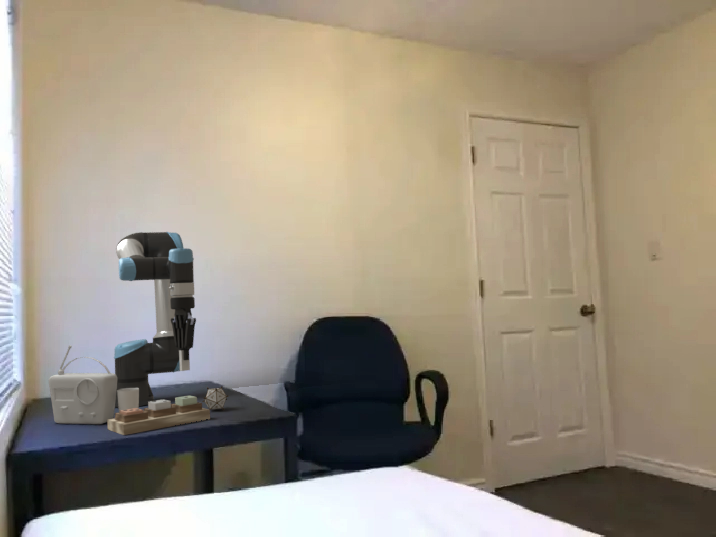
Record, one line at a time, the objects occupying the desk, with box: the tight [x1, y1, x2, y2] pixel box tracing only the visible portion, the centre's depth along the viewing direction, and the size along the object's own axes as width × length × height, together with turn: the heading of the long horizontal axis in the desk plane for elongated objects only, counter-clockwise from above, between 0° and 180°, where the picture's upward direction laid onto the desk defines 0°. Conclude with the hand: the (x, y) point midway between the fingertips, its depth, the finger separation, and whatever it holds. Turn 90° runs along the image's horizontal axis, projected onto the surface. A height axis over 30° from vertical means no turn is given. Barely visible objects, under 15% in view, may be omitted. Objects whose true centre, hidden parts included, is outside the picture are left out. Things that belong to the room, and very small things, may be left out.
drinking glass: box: [117, 388, 140, 413], centre depth 211 cm, size 7×7×10 cm
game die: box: [201, 385, 229, 411], centre depth 223 cm, size 9×8×10 cm
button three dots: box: [120, 408, 144, 415], centre depth 197 cm, size 5×5×3 cm
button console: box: [106, 401, 211, 436], centre depth 203 cm, size 12×28×5 cm, turn 132°
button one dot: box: [174, 395, 198, 406], centre depth 209 cm, size 5×5×3 cm
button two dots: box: [147, 399, 172, 410], centre depth 203 cm, size 5×5×3 cm
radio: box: [48, 344, 117, 425], centre depth 211 cm, size 22×8×25 cm, turn 75°
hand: (184, 370), depth 209 cm, fingers closed
